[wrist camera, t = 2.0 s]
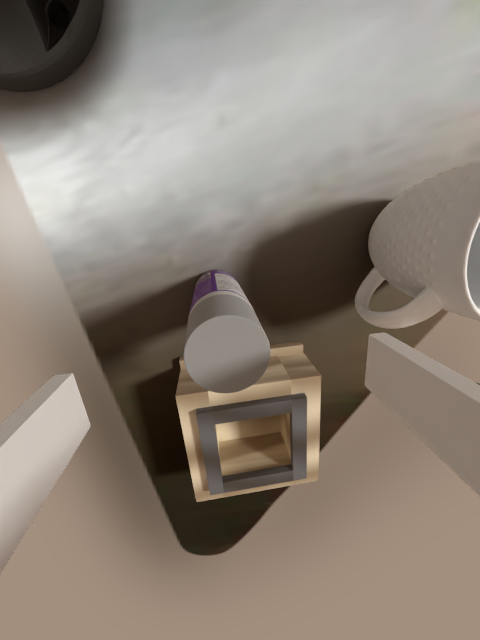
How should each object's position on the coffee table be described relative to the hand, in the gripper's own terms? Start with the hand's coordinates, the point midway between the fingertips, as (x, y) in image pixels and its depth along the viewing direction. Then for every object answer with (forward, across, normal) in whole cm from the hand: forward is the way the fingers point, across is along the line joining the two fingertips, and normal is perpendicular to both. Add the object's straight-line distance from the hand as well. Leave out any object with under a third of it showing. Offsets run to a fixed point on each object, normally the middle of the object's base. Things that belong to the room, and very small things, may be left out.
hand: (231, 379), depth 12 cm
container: (+17, 0, 0) cm, 17 cm away
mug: (+17, +19, +4) cm, 26 cm away
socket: (+17, +2, -14) cm, 22 cm away
